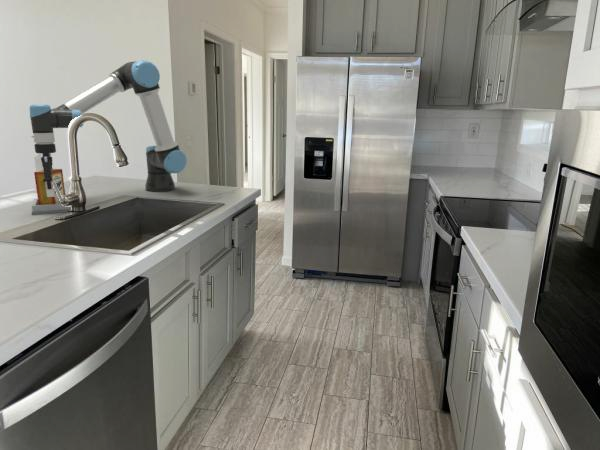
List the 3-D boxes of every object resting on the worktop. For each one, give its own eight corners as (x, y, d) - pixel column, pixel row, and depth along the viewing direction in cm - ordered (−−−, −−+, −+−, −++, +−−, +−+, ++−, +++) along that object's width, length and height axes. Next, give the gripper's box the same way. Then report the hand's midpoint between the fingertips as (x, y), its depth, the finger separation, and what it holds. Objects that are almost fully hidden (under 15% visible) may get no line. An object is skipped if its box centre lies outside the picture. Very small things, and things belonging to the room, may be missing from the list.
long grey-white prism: (39, 196, 216) (32, 150, 210) (42, 193, 222) (35, 149, 216) (53, 195, 218) (47, 150, 212) (56, 193, 224) (49, 148, 218)
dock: (72, 203, 202) (72, 196, 201) (73, 211, 188) (72, 203, 187) (34, 206, 195) (33, 198, 194) (32, 214, 181) (30, 206, 180)
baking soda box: (55, 209, 187) (49, 171, 182) (39, 209, 187) (33, 171, 182) (66, 204, 196) (61, 168, 192) (51, 204, 196) (46, 167, 192)
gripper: (36, 140, 193) (42, 189, 199) (31, 146, 172) (39, 200, 177) (55, 140, 196) (61, 187, 202) (53, 145, 175) (60, 198, 181)
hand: (51, 193), depth 190 cm, fingers open, 13 cm apart
